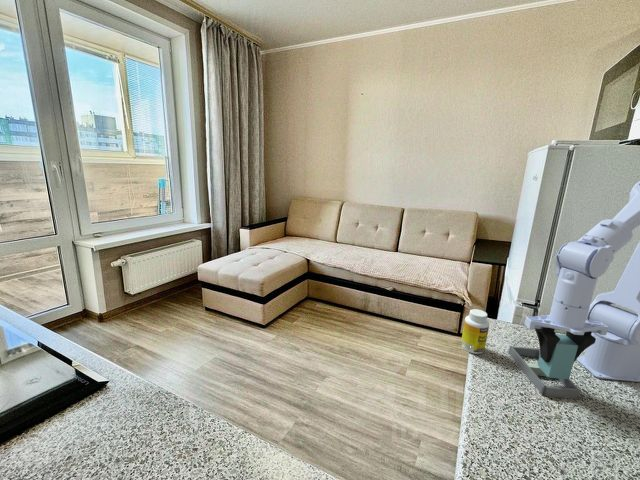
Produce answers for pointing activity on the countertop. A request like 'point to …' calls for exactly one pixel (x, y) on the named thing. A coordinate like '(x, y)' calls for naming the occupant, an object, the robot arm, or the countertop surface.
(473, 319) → the supplement bottle
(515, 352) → the caddy
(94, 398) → the countertop surface
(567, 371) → the plug
